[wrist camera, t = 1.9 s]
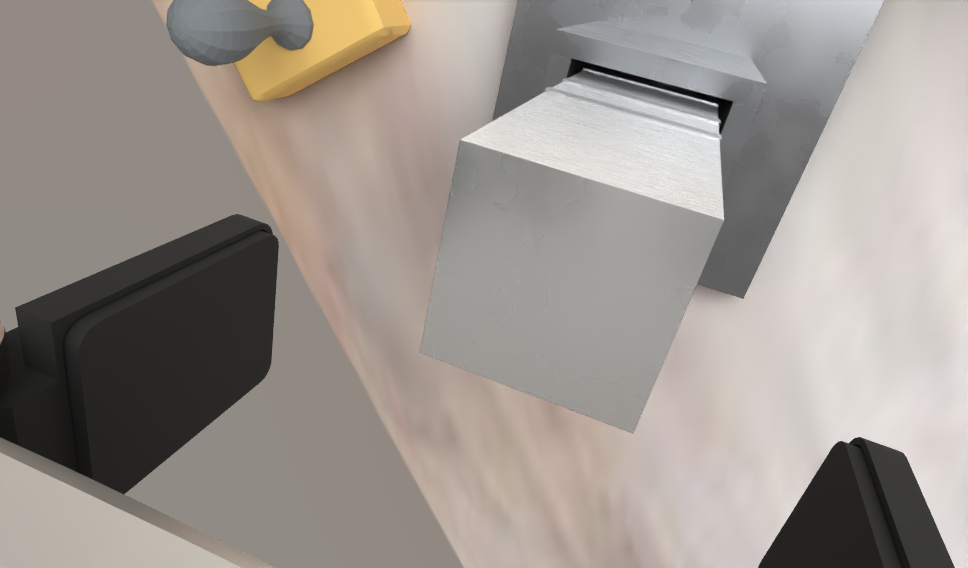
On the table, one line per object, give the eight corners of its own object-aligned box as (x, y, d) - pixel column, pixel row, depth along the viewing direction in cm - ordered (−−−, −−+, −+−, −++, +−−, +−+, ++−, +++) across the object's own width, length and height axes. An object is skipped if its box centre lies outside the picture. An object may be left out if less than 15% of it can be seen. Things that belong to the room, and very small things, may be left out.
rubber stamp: (289, 96, 40) (144, 131, 30) (245, 7, 39) (76, 11, 28) (414, 30, 36) (294, 43, 26) (370, -73, 34) (223, -103, 24)
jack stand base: (548, -93, 31) (467, -137, 21) (882, -19, 28) (982, -29, 18) (483, 201, 39) (400, 275, 28) (741, 284, 36) (754, 401, 25)
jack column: (613, 49, 31) (456, 133, 12) (718, 76, 30) (732, 216, 11) (584, 150, 33) (414, 354, 14) (680, 178, 32) (636, 439, 13)
